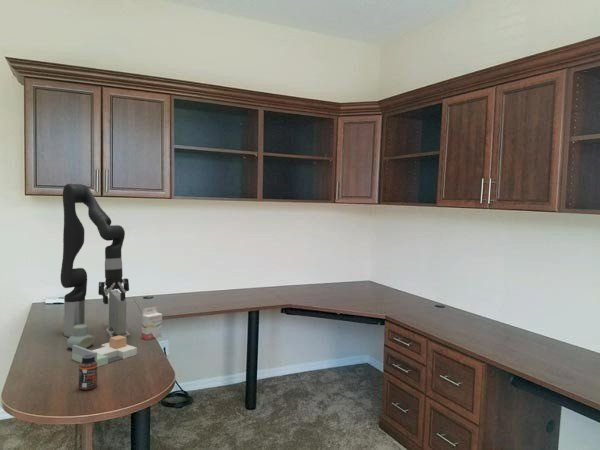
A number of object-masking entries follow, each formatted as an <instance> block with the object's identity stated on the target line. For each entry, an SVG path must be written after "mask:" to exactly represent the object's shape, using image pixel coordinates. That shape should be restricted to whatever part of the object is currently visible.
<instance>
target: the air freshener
mask: <svg viewBox="0 0 600 450" xmlns="http://www.w3.org/2000/svg"><path fill="white" fill-rule="evenodd" d="M94 341H95V339H94V336H93V335H92V334H90V333H89V325H87V324H86V323H85V324H81V325H76V326H74V327H73V336H71V337H69V338H68V339H67V340H66V344H67V346H68V347H69V348H70V349H72V345H77V346H80V347H83V348H86V349H88V348H89V347H90V346H92V345H93V343H94Z"/></svg>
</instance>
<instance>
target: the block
mask: <svg viewBox="0 0 600 450" xmlns="http://www.w3.org/2000/svg"><path fill="white" fill-rule="evenodd" d="M127 338H128V336H127V337H124V336H121V335H115V337H109V342H108V343H109V347H111V348H114V349H119V348H122V347H125V346H126V344H127V343H128V342H127V340H128V339H127ZM127 345H128V344H127Z"/></svg>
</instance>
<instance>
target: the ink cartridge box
mask: <svg viewBox="0 0 600 450" xmlns="http://www.w3.org/2000/svg"><path fill="white" fill-rule="evenodd" d="M162 328H163V314H162V313H160V312H158V306H154V307H153V306H152V307H145V308H143V309H142V315H141V339H143V340H146V341H150V340H153V338H154V337H155V338H154V339H158V338H162V336H163V335H162V333H163V332H162V331H163V329H162Z"/></svg>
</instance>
